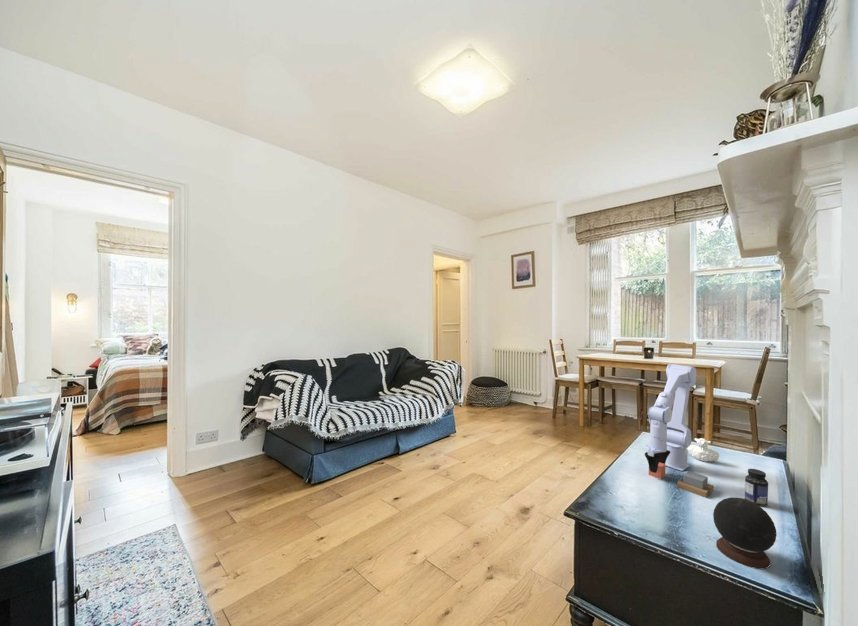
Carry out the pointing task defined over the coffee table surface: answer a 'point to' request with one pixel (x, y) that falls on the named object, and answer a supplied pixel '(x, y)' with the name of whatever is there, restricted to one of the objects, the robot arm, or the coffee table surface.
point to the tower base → (695, 488)
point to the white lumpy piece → (703, 451)
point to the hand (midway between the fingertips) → (656, 469)
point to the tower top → (695, 479)
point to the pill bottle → (756, 487)
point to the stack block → (659, 471)
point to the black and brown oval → (744, 531)
